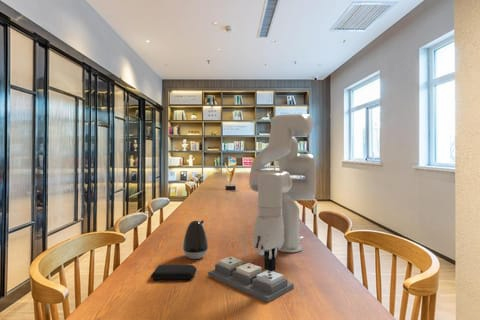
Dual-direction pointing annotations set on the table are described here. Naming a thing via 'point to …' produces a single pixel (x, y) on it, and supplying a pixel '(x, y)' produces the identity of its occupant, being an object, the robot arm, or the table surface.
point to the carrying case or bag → (174, 273)
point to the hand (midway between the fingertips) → (269, 269)
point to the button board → (250, 283)
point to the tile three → (270, 277)
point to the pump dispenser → (195, 241)
